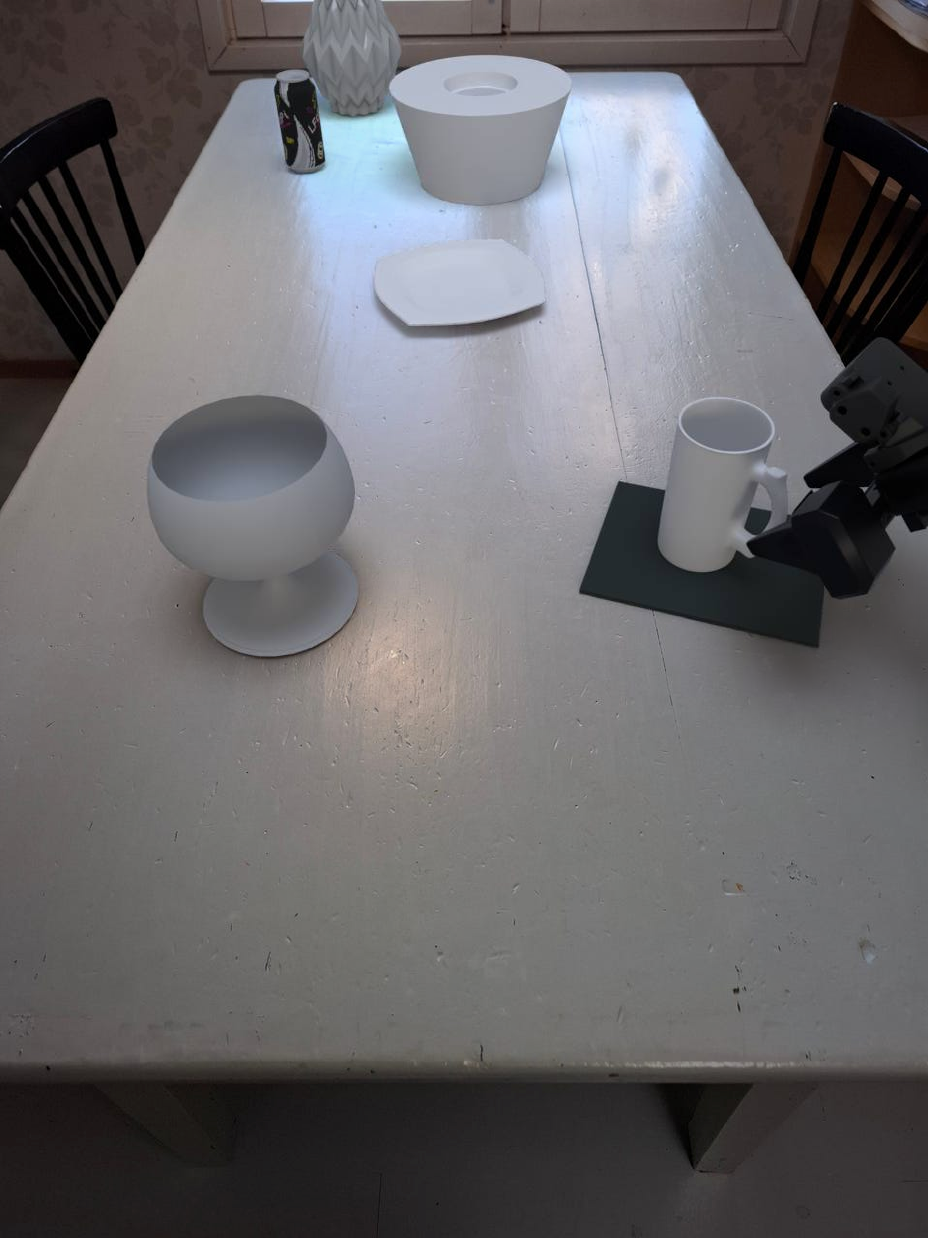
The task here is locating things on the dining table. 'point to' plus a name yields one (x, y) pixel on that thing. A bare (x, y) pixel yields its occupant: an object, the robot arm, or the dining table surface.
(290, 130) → the beverage can
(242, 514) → the chalice
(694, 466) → the mug
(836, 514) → the robot arm
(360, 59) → the vase
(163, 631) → the dining table surface
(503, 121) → the white tapered cylinder
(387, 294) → the plate
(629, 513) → the mat
